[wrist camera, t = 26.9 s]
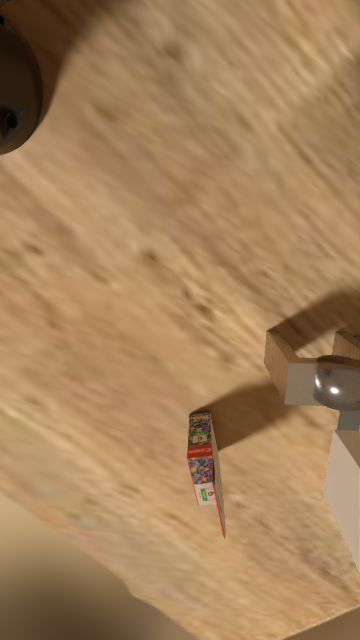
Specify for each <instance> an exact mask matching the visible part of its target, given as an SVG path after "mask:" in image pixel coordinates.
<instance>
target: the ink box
mask: <svg viewBox="0 0 360 640" xmlns="http://www.w3.org/2000/svg"><path fill="white" fill-rule="evenodd" d="M187 461H188V465H189V469H190V473H191V478H192V482H193V486H194V490H195V494H196V498H197V502H198V506H201V505H209V504H217V508H218V513H219V518H220V523H221V527H222V532H223V536H224V539H225V532H226V531H225V517H224V505H223V494H222V484H221V474H220V464H219V455H218V449H217V444H216V439H215V434H214V429H213V424H212V420H211V414H210V411H208V412H201V413H194V414H190V415H189V435H188V451H187Z"/></svg>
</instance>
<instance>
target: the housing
mask: <svg viewBox="0 0 360 640" xmlns="http://www.w3.org/2000/svg"><path fill="white" fill-rule="evenodd" d="M264 364H265V366H266V368H267V370H268V372H269V374H270V376H271V378H272V380H273V382H274V384H275V386H276V388H277V390H278V392H279V394H280V396H281V398H282V400H283V402H284V404H289V405H317V406H327V407H329V408H332V409H336V410H340V411H357V410H360V341H359V340H357V339H356V338H354V337H353V336H351V335H350V334H348V333H347V332H336V333H335V339H334V346H333V352H332V355H325V356H321V357H318V358H299V357H298V356H297V355H296V354H295V352H294V351H293V350H292V349H291V347H290V346H289V345H288V343H287V342H286V341H285V340H284V338H283V337H282V336H281V335H280V333H279V332H278V331H267V334H266V346H265V358H264Z"/></svg>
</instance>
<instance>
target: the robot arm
mask: <svg viewBox="0 0 360 640" xmlns="http://www.w3.org/2000/svg"><path fill="white" fill-rule="evenodd" d="M10 1H12V0H0V8H1V7H2V6H4V5H5V4H7V3H8V2H10ZM41 105H42V83H41V76H40V72H39V68H38V65H37V62H36V59H35V57H34V55H33V53H32V50H31V49H30V47H29V45H28V43H27V42H26V40H25V39H24V38H23V36H22V35H21V34H20V33H19V31H18V30H17V29H16V28H15V27H14V26H13V25H12V24H11V23H10V21H9V20H8V19H7V18H6V17H5V16H4V15H3V14H2V13H1V12H0V155H2V154H6V153H9V152H11V151H13V150H15V149H16V148H18V147H19V146H21V145H22V144H23V143H24V142H25V141H26V140H27V139H28V137H29V136H30V135H31V133H32V132H33V130H34V128H35V126H36V124H37V121H38V118H39V115H40V111H41ZM323 496H324V498H325V500H326V502H327V504H328V506H329V508H330V510H331V513H332V515H333V517H334V519H335V521H336V523H337V525H338V527H339V530H340V532H341V534H342V536H343V538H344V540H345V542H346V544H347V547H348V549H349V551H350V553H351V555H352V557H353V559H354V561H355V564H356V566H357V568H358V570H359V572H360V434H359V433H358V432H357V431H352V430H333V436H332V442H331V448H330V454H329V460H328V466H327V472H326V478H325V484H324V489H323Z"/></svg>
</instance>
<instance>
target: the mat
mask: <svg viewBox="0 0 360 640" xmlns="http://www.w3.org/2000/svg"><path fill="white" fill-rule="evenodd" d="M353 337H354V338H356V339H357V340H359V341H360V336H353ZM359 428H360V410H357V411H340V417H339V422H338V428H337V430H352V431H357V432H358V433H359Z"/></svg>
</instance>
